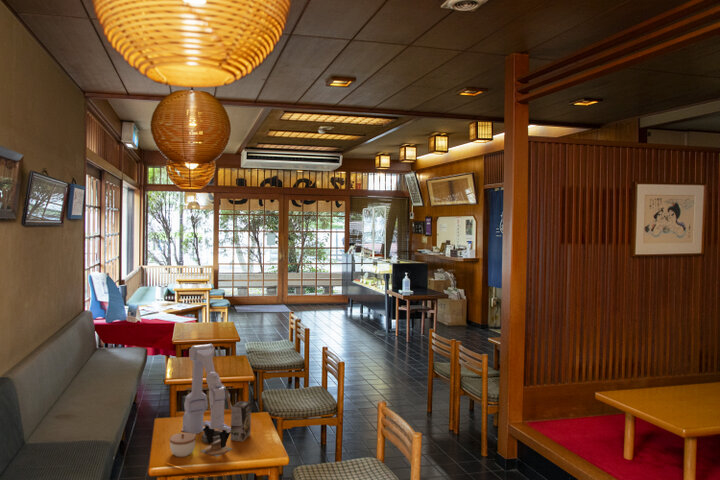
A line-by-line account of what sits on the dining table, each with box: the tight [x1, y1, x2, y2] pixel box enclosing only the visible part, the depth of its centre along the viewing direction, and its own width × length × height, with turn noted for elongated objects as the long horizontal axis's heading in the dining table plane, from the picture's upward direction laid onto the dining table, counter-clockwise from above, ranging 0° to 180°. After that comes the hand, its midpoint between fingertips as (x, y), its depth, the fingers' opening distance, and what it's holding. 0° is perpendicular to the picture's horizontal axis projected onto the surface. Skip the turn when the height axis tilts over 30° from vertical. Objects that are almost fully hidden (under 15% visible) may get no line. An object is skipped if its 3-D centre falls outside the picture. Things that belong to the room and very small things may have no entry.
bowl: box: [201, 429, 222, 444], centre depth 255 cm, size 9×10×3 cm
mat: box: [199, 446, 234, 458], centre depth 243 cm, size 10×10×1 cm
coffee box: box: [230, 400, 252, 442], centre depth 258 cm, size 9×6×16 cm
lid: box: [204, 439, 229, 456], centre depth 243 cm, size 10×10×4 cm
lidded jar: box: [169, 432, 197, 458], centre depth 238 cm, size 11×11×9 cm
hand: (216, 445), depth 243 cm, fingers open, 7 cm apart
